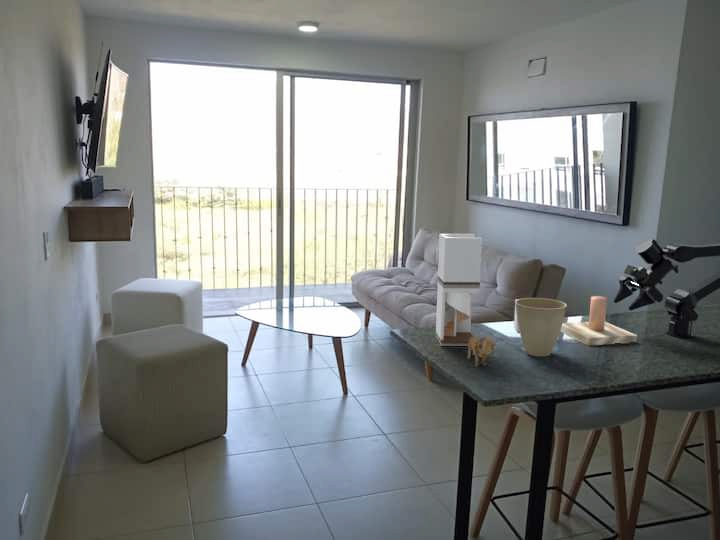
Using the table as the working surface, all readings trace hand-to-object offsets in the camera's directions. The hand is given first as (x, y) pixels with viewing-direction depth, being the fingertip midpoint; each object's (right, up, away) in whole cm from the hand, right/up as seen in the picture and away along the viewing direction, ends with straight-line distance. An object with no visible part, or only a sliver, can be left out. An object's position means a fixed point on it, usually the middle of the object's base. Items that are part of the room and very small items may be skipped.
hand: (621, 305), depth 197 cm
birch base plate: (-8, -10, +1) cm, 13 cm away
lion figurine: (-54, -15, -26) cm, 62 cm away
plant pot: (-34, -14, -17) cm, 40 cm away
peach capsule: (-8, -8, +1) cm, 12 cm away
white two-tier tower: (-58, -12, -7) cm, 59 cm away
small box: (-30, -9, +8) cm, 33 cm away
